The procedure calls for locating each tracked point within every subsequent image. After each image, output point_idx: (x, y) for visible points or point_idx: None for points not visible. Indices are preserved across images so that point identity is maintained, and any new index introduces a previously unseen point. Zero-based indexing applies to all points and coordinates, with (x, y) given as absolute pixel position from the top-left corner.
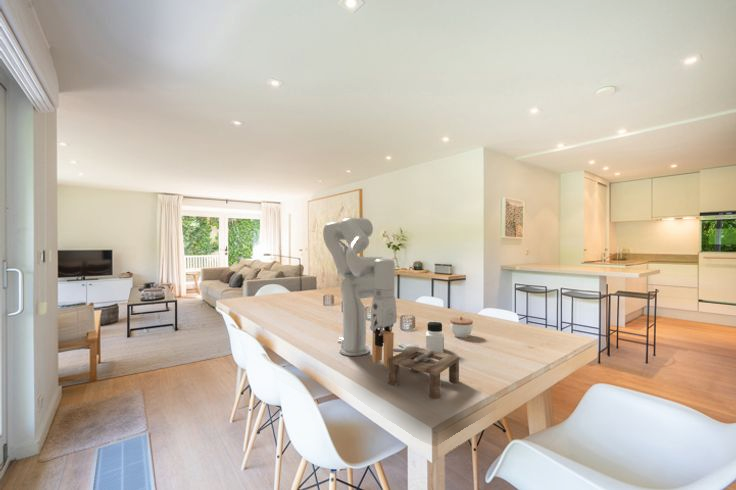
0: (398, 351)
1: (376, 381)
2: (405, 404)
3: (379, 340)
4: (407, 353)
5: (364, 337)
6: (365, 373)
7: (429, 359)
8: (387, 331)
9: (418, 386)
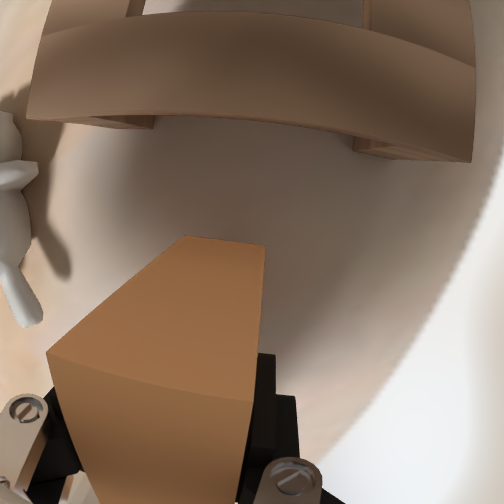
0: (29, 290)
1: (397, 232)
2: (499, 36)
3: (291, 421)
4: (230, 48)
5: (83, 475)
6: (327, 333)
7: (9, 115)
8: (80, 440)
9: (333, 9)
